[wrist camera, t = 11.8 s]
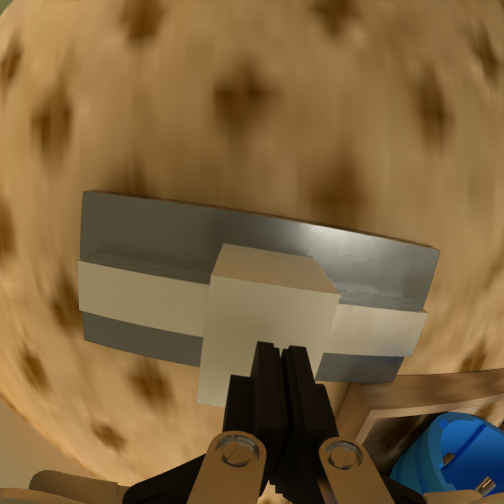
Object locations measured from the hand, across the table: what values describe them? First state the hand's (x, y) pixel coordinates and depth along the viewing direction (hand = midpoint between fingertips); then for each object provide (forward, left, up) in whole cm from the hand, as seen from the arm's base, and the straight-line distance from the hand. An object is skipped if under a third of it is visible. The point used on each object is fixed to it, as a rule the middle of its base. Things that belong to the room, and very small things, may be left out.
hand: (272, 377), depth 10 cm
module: (0, 0, -7) cm, 7 cm away
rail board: (0, 0, -9) cm, 9 cm away
